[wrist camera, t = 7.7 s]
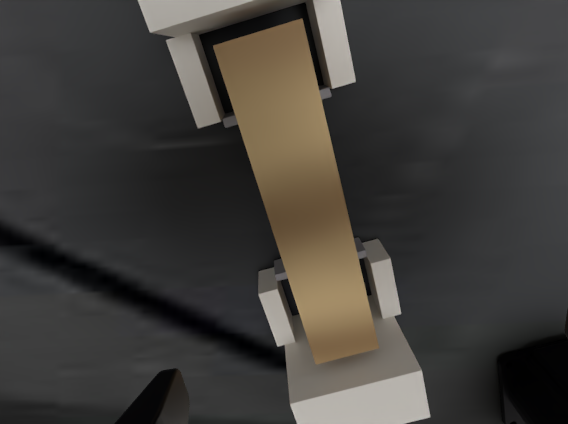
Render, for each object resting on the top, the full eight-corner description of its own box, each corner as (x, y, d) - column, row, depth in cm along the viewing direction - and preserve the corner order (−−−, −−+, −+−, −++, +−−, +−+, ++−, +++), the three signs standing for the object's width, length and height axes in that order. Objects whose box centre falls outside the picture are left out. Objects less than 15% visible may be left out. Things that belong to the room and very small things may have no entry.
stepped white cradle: (396, 330, 24) (438, 415, 18) (289, 358, 24) (298, 450, 18) (310, -88, 15) (340, -166, 10) (149, -37, 16) (90, -84, 10)
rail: (354, 287, 22) (379, 347, 18) (304, 300, 23) (315, 364, 18) (290, 27, 17) (302, 18, 12) (225, 47, 17) (212, 45, 13)
